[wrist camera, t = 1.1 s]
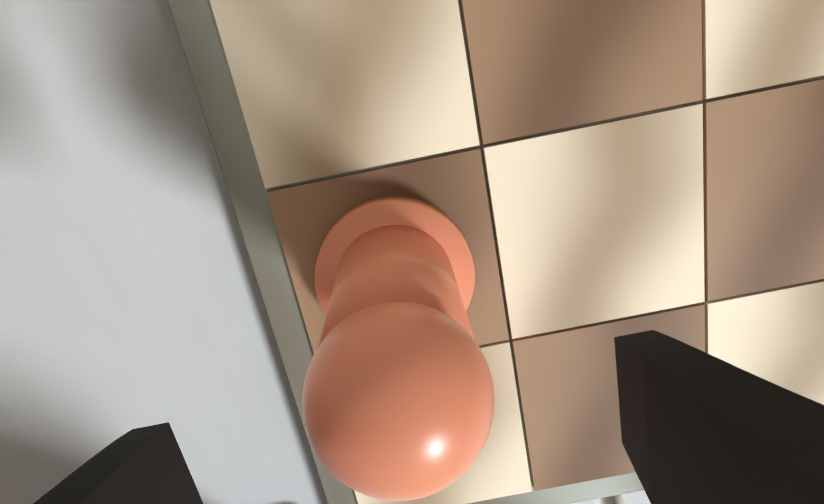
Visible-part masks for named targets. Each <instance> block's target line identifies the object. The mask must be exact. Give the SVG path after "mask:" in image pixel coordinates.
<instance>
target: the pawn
mask: <svg viewBox="0 0 824 504" xmlns="http://www.w3.org/2000/svg"><path fill="white" fill-rule="evenodd" d="M314 280H315V290H316V294H317V298H318V301H319V304H320V306H321V308H322V310H323V312H324V314H325V315H326V319H325V323H324V327H323V331H322V335H321V339H320V343H319V346H318V348H317V350H316V351H315V353H314V355H313V357H312V359H311V362H310V364H309V367H308V369H307V372H306V376H305V380H304V386H303V395H302V407H303V419H304V424H305V428H306V431H307V435H308V438H309V440H310V442H311V445H312V447H313V449H314V451H315V452H316V454H317V456H318V457H319V459H320V461H321V462H322V463H323V464H324V466H325V467H326V468H327V469H328V470H329V471H330V472H331V473H332V474H333V475H334V476H335V477H336V478H337V479H338V480H339V481H341V482H342V483H343V484H345V485H346V486H347V487H349V488H351V489H353V490H355V491H357V492H359V493H361V494H364V495H366V496H369V497H372V498H376V499H381V500H386V501H409V500H415V499H420V498H424V497H427V496H429V495H432V494H434V493H436V492H439V491H441V490H443V489H445V488H446V487H448V486H449V485H451V484H453V483H454V482H455V481H456V480H458V479H459V478H460V477H461V476H462V475H463V474H464V473H465V472H466V471H467V470H468V469H469V468H470V467H471V466H472V464H473V463H474V462H475V460H476V459H477V458H478V456H479V454H480V453H481V451H482V449H483V447H484V445H485V443H486V441H487V438H488V436H489V433H490V429H491V425H492V421H493V416H494V402H495V396H494V385H493V381H492V376H491V372H490V368H489V366H488V363H487V361H486V359H485V357H484V354H483V352H482V351H481V349H480V347H479V346H478V344H477V342H476V341H475V339H474V336H473V333H472V329H471V326H470V323H469V320H468V317H467V313H466V310H467V308H468V306H469V304H470V301H471V298H472V295H473V291H474V285H475V269H474V263H473V259H472V255H471V253H470V250H469V248H468V245H467V243H466V241H465V238H464V236H463V235H462V233H461V231H460V229H459V228H458V227H457V225H456V224H455V223H454V221H453V220H452V219H451V218H449V217H448V216H447V215H446V214H445V213H444V212H442V211H441V210H440V209H438V208H437V207H435V206H433V205H431V204H430V203H427V202H425V201H422V200H419V199H415V198H411V197H405V196H385V197H378V198H374V199H371V200H367V201H365V202H363V203H360V204H358V205H356V206H355V207H353V208H351V209H350V210H348V211H347V212H346V213H344V214H343V215H342V216H341V217H340V218H339V219H338V220H337V221H336V222H335V223H334V224H333V226H332V227H331V228H330V230H329V231H328V233H327V235H326V237H325V239H324V241H323V244H322V246H321V249H320V252H319V254H318V257H317V261H316V266H315V275H314Z"/></svg>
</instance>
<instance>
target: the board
mask: <svg viewBox="0 0 824 504" xmlns="http://www.w3.org/2000/svg"><path fill="white" fill-rule="evenodd" d="M168 3H169V7H170V10H171V13H172V16H173V19H174V22H175V25H176V29H177V32H178V35H179V38H180V41H181V44H182V47H183V50H184V54H185V57H186V60H187V63H188V66H189V69H190V72H191V76H192V79H193V82H194V85H195V88H196V91H197V94H198V97H199V101H200V104H201V107H202V110H203V113H204V116H205V119H206V122H207V126H208V129H209V132H210V135H211V138H212V141H213V144H214V148H215V151H216V154H217V157H218V160H219V163H220V166H221V169H222V173H223V176H224V179H225V182H226V185H227V188H228V191H229V195H230V198H231V201H232V204H233V207H234V210H235V213H236V216H237V220H238V223H239V226H240V229H241V232H242V235H243V238H244V242H245V245H246V248H247V251H248V254H249V257H250V260H251V263H252V267H253V270H254V273H255V276H256V279H257V282H258V285H259V288H260V292H261V295H262V298H263V301H264V304H265V307H266V310H267V314H268V317H269V320H270V323H271V326H272V329H273V332H274V335H275V339H276V342H277V345H278V348H279V351H280V354H281V357H282V361H283V364H284V367H285V370H286V373H287V376H288V379H289V382H290V386H291V389H292V392H293V395H294V398H295V401H296V404H297V408H298V411H299V414H300V417H301V420H302V423H303V426H304V429H305V433H306V436H307V439H308V442H309V445H310V448H311V451H312V454H313V458H314V461H315V464H316V467H317V470H318V473H319V476H320V480H321V483H322V486H323V489H324V492H325V495H326V498H327V501H328V504H571V503H576V502H581V501H587V500H592V499H598V498H603V497H608V496H614V495H619V494H625V493H630V492H635V491H641V490H644V488H643V486H642V484H641V482H640V480H639V478H638V476H637V474H636V472H635V470H634V467H633V465H632V463H631V461H630V459H629V457H628V455H627V452H626V450H625V448H624V446H623V444H622V437H621V424H620V410H619V397H618V383H617V370H616V356H615V343H614V337H618V336H623V335H628V334H633V333H639V332H644V331H649V330H655V331H658V332H660V333H663V334H665V335H668V336H670V337H672V338H675V339H677V340H679V341H681V342H684V343H686V344H688V345H690V346H692V347H695V348H697V349H699V350H701V351H703V352H706V353H708V354H710V355H712V356H714V357H716V358H719V359H721V360H723V361H725V362H727V363H729V364H732V365H734V366H736V367H738V368H740V369H743V370H745V371H747V372H749V373H751V374H754V375H756V376H758V377H760V378H763V379H765V380H767V381H769V382H772V383H774V384H776V385H778V386H781V387H783V388H785V389H788V390H790V391H792V392H794V393H797V394H799V395H801V396H804V397H806V398H809V399H811V400H813V401H816V402H818V403H821V404H823V405H824V0H168ZM385 196H405V197H411V198H415V199H419V200H422V201H425V202H427V203H430V204H431V205H433V206H435V207H437V208H438V209H440V210H441V211H442V212H444V213H445V214H446V215H447V216H448V217H449V218H451V219H452V220H453V221H454V223H455V224H456V225H457V227H458V228H459V229H460V231H461V233H462V235H463V236H464V238H465V241H466V243H467V245H468V248H469V250H470V253H471V255H472V259H473V263H474V269H475V285H474V291H473V295H472V298H471V301H470V304H469V306H468V308H467V310H466V313H467V317H468V320H469V323H470V326H471V329H472V333H473V336H474V339H475V341H476V342H477V344H478V346H479V347H480V349H481V351H482V352H483V354H484V357H485V359H486V361H487V363H488V366H489V368H490V372H491V376H492V381H493V385H494V396H495V402H494V416H493V421H492V425H491V429H490V433H489V436H488V438H487V441H486V443H485V445H484V447H483V449H482V451H481V453H480V454H479V456H478V458H477V459H476V460H475V462H474V463H473V464H472V466H471V467H470V468H469V469H468V470H467V471H466V472H465V473H464V474H463V475H462V476H461V477H460V478H459V479H458V480H456V481H455V482H454V483H453V484H451V485H449V486H448V487H446V488H445V489H443V490H441V491H439V492H436V493H434V494H432V495H429V496H427V497H424V498H420V499H415V500H409V501H386V500H381V499H376V498H372V497H369V496H366V495H364V494H361V493H359V492H357V491H355V490H353V489H351V488H349V487H347V486H346V485H345V484H343V483H342V482H341V481H339V480H338V479H337V478H336V477H335V476H334V475H333V474H332V473H331V472H330V471H329V470H328V469H327V468H326V467H325V466H324V464H323V463H322V462H321V461H320V459H319V457H318V456H317V454H316V452H315V451H314V449H313V447H312V445H311V442H310V440H309V438H308V435H307V431H306V428H305V424H304V419H303V407H302V395H303V386H304V380H305V376H306V372H307V369H308V367H309V364H310V362H311V359H312V357H313V355H314V353H315V351H316V350H317V348H318V346H319V343H320V339H321V335H322V331H323V327H324V323H325V319H326V315H325V314H324V312H323V310H322V308H321V306H320V304H319V301H318V298H317V294H316V290H315V280H314V275H315V266H316V261H317V257H318V254H319V252H320V249H321V246H322V244H323V241H324V239H325V237H326V235H327V233H328V231H329V230H330V228H331V227H332V226H333V224H334V223H335V222H336V221H337V220H338V219H339V218H340V217H341V216H342V215H343V214H344V213H346V212H347V211H348V210H350V209H351V208H353V207H355V206H356V205H358V204H360V203H363V202H365V201H367V200H371V199H374V198H378V197H385Z"/></svg>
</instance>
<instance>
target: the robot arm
mask: <svg viewBox="0 0 824 504" xmlns="http://www.w3.org/2000/svg"><path fill="white" fill-rule="evenodd" d="M614 343H615V356H616V370H617V383H618V397H619V410H620V424H621V437H622V444H623V446H624V448H625V450H626V452H627V455H628V457H629V459H630V461H631V463H632V465H633V467H634V470H635V472H636V474H637V476H638V478H639V480H640V482H641V484H642V486H643V488H644V490H645V492H646V494H647V496H648V498H649V500H650V502H651V504H824V405H823V404H821V403H818V402H816V401H813V400H811V399H809V398H806V397H804V396H801V395H799V394H797V393H794V392H792V391H790V390H788V389H785V388H783V387H781V386H778V385H776V384H774V383H772V382H769V381H767V380H765V379H763V378H760V377H758V376H756V375H754V374H751V373H749V372H747V371H745V370H743V369H740V368H738V367H736V366H734V365H732V364H729V363H727V362H725V361H723V360H721V359H719V358H716V357H714V356H712V355H710V354H708V353H706V352H703V351H701V350H699V349H697V348H695V347H692V346H690V345H688V344H686V343H684V342H681V341H679V340H677V339H675V338H672V337H670V336H668V335H665V334H663V333H660V332H658V331H655V330H649V331H644V332H639V333H633V334H628V335H623V336H618V337H614ZM34 504H203V502H202V500H201V497H200V495H199V493H198V490H197V488H196V486H195V483H194V481H193V479H192V476H191V474H190V471H189V469H188V467H187V464H186V462H185V460H184V457H183V455H182V453H181V450H180V448H179V446H178V443H177V441H176V438H175V436H174V434H173V431H172V429H171V427H170V424H169V423H163V424H158V425H153V426H148V427H142V428H137V429H132V430H131V431H129V432H127V433H126V434H124V435H123V436H121V437H120V438H118V439H117V440H115V441H114V442H113V443H111V444H110V445H108V446H107V447H106V448H104V449H103V450H102V451H100V452H99V453H98V454H96V455H95V456H94V457H92V458H91V459H90V460H88V461H87V462H86V463H84V464H83V465H82V466H81V467H79V468H78V469H77V470H75V471H74V472H73V473H72V474H70V475H69V476H68V477H67V478H65V479H64V480H63V481H61V482H60V483H59V484H58V485H56V486H55V487H54V488H53V489H51V490H50V491H49V492H48V493H46V494H45V495H44V496H42V497H41V498H40V499H39V500H37V501H36V502H35V503H34Z"/></svg>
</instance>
